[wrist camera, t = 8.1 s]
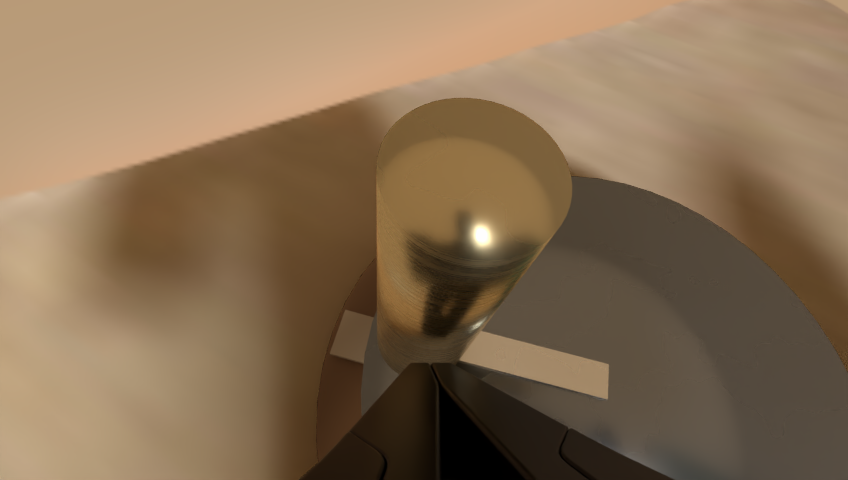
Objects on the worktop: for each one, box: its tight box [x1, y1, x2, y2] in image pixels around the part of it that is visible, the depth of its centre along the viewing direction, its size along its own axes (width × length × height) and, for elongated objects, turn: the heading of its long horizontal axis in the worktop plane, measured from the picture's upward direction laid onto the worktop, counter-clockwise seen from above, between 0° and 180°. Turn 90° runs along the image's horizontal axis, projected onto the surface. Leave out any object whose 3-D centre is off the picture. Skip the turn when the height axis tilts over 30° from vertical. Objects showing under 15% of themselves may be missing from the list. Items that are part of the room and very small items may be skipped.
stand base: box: [316, 256, 377, 462], centre depth 16 cm, size 18×18×2 cm
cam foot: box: [361, 98, 848, 480], centre depth 10 cm, size 15×15×10 cm
